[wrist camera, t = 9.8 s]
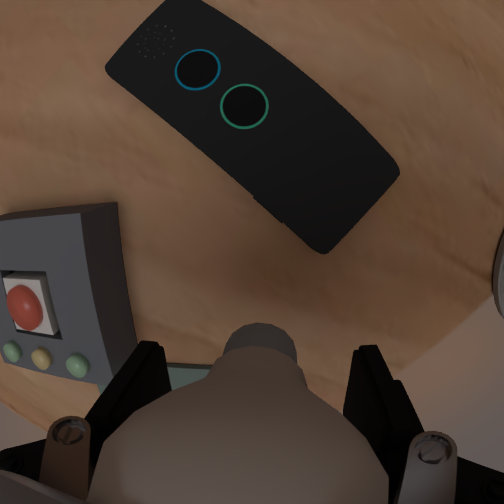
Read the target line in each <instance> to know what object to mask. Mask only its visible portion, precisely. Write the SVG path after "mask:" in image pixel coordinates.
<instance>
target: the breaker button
mask: <svg viewBox="0 0 504 504" xmlns="http://www.w3.org/2000/svg"><path fill="white" fill-rule="evenodd" d="M3 281H4V286H5V290H6V294H7V307H8V310H9V313H10V315H11V317H12V318H13V320H14V322H15V325H16V329H20V330H26V331H32V332H37V333H43V334H50V335H54V334H55V333H56V332H58V331H59V330H60V328H59V325H58V321H57V317H56V314H55V310H54V306H53V302H52V297H51V293H50V289H49V284H48V279H47V275H46V271H15V272H13V273H11V274H10V275H8V276H6V277H4V278H3Z"/></svg>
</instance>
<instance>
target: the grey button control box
mask: <svg viewBox="0 0 504 504" xmlns="http://www.w3.org/2000/svg"><path fill="white" fill-rule="evenodd" d="M15 271H46V275H47V279H48V284H49V289H50V293H51V297H52V302H53V306H54V310H55V314H56V317H57V321H58V325H59V328H60V330H59V331H58V332H56V333H55V334H54V335H50V334H43V333H37V332H32V331H26V330H20V329H16V325H15V322H14V320H13V318H12V317H11V315H10V313H9V310H8V307H7V294H6V290H5V286H4V281H3V278H4V277H6V276H8V275H10V274H11V273H13V272H15ZM137 345H138V344H137V339H136V335H135V330H134V325H133V319H132V314H131V308H130V303H129V297H128V291H127V285H126V278H125V271H124V264H123V256H122V249H121V240H120V231H119V221H118V210H117V202H111V203H99V204H88V205H77V206H67V207H58V208H48V209H40V210H31V211H23V212H15V213H8V214H4V215H0V352H1V355H2V357H3V360H4V362H5V363H9V364H12V365H16V366H19V367H23V368H26V369H30V370H34V371H38V372H42V373H46V374H50V375H54V376H59V377H63V378H68V379H73V380H78V381H83V382H88V383H93V384H99V385H105V386H108V384H109V383H110V381H111V380H112V379H113V377H114V376H115V375H116V374H117V373H118V371H119V370H120V369H121V367H122V366H123V364H124V363H125V362H126V360H127V359H128V358H129V356H130V355H131V354H132V352H133V351H134V349H135V348H136V347H137Z"/></svg>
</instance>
